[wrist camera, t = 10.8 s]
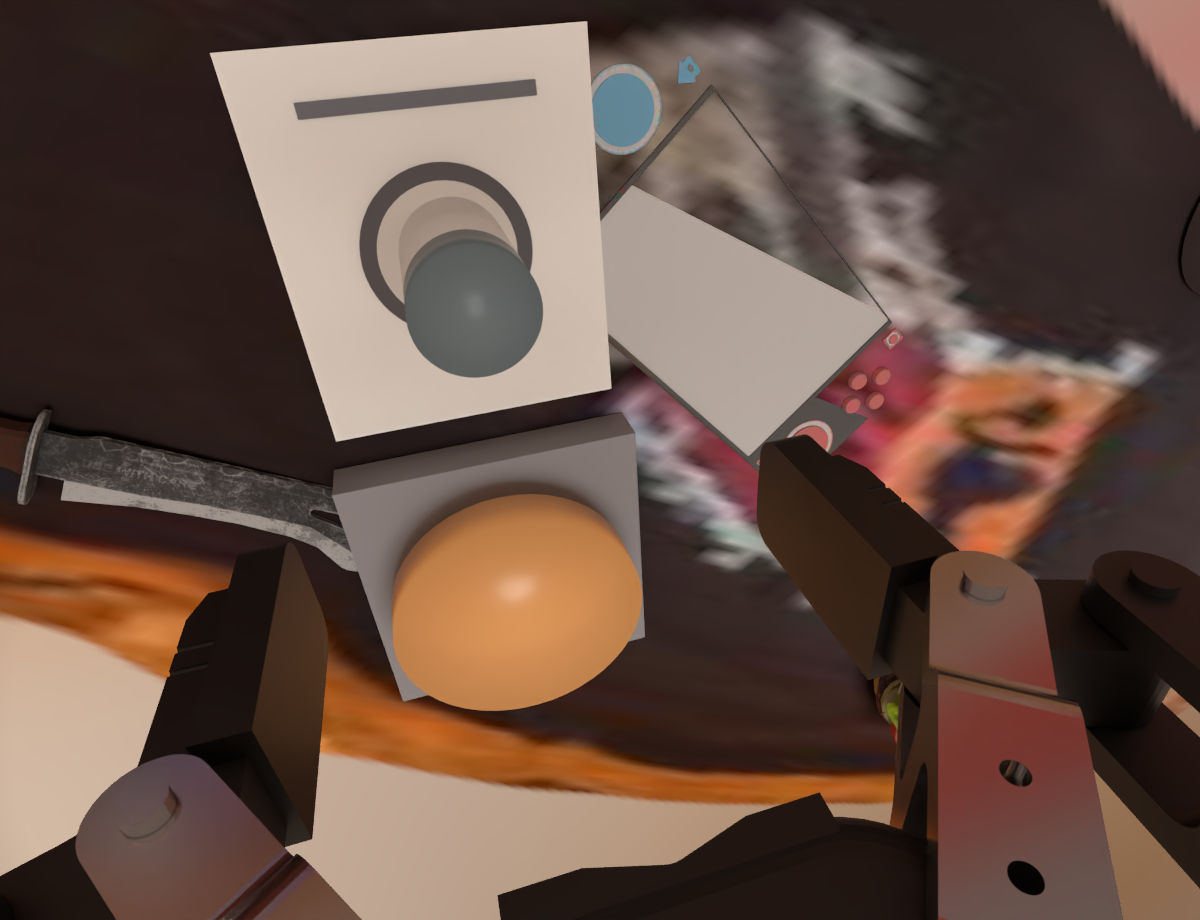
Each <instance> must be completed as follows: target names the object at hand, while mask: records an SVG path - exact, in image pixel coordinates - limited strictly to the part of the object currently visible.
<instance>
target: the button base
mask: <svg viewBox="0 0 1200 920" xmlns="http://www.w3.org/2000/svg"><path fill="white" fill-rule="evenodd" d="M520 494H541V495H551V496H557V497H562V498H566V499H569V500H572V501H575V502H578V503H580V504H582V505H585V506H587V507H589V508H591V509H592V510H594V511H595V512H597V513H598V514H600V515H601V516H602V517H603V518H605V519H606V520H607V521H608V522H609V523H610V524H611V525H612V526H613V528H614V529H615V530H616V532H617V533H618V534H619V536H620V538H621V540H622V542H623V544H624V546H625V548H626V550H627V552H628V554H629V556H630V558H631V560H632V562H633V564H634V566H635V568H636V570H637V573H638V576H639V579H640V582H641V589H642V568H641V547H640V525H639V504H638V483H637V462H636V441H635V432H634V431H633V429H632V428H631V426H630V424H629V423H628V421H627V420H626V418H625V417H624V415H623V414H622V413H617V414H612V415H607V416H602V417H597V418H592V419H587V420H582V421H577V422H572V423H567V424H562V425H557V426H552V427H547V428H542V429H537V430H532V431H527V432H522V433H517V434H512V435H507V436H502V437H497V438H492V439H487V440H482V441H477V442H472V443H467V444H462V445H457V446H452V447H447V448H442V449H437V450H432V451H427V452H422V453H417V454H412V455H407V456H402V457H397V458H392V459H387V460H382V461H377V462H372V463H367V464H362V465H357V466H352V467H347V468H342V469H337V470H334V478H333V490H332V497H333V500H334V503H335V506H336V509H337V511H338V514H339V517H340V520H341V523H342V526H343V529H344V532H345V534H346V537H347V540H348V543H349V546H350V549H351V552H352V555H353V558H354V560H355V563H356V566H357V569H358V572H359V575H360V578H361V581H362V584H363V586H364V589H365V592H366V595H367V598H368V601H369V604H370V607H371V609H372V612H373V615H374V618H375V621H376V624H377V627H378V630H379V633H380V635H381V638H382V641H383V644H384V647H385V650H386V653H387V656H388V658H389V661H390V664H391V667H392V670H393V673H394V676H395V679H396V682H397V684H398V687H399V690H400V693H401V696H402V699H403V701H407V700H411V699H415V698H418V697H422V696H426V695H428V694H426V693H425V692H424V691H422V690H421V689H420V688H418V687H417V686H416V685H415V684H414V683H413V682H412V681H411V680H410V679H409V678H408V677H407V675H406V674H405V672H404V671H403V670H402V668H401V666H400V664H399V662H398V660H397V657H396V654H395V650H394V646H393V627H392V592H393V585H394V582H395V579H396V576H397V573H398V571H399V569H400V567H401V565H402V563H403V561H404V559H405V558H406V556H407V555H408V554H409V552H410V551H411V549H412V548H413V547H414V546H415V545H416V544H417V542H418V541H419V540H420V539H421V538H422V537H423V536H424V535H425V534H426V533H428V532H429V531H430V530H431V529H432V528H433V527H435V526H436V525H437V524H439V523H440V522H442V521H443V520H445V519H446V518H448V517H449V516H451V515H453V514H455V513H457V512H459V511H461V510H463V509H465V508H467V507H470V506H472V505H475V504H477V503H480V502H483V501H487V500H491V499H494V498H498V497H504V496H510V495H520ZM643 637H645V631H644V610H643V589H642V606H641V611H640V616H639V619H638V622H637V625H636V628H635V630H634V632H633V634H632V636H631V638H630V640H629V641H632V640H635V639H639V638H643Z"/></svg>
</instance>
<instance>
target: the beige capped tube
mask: <svg viewBox="0 0 1200 920" xmlns="http://www.w3.org/2000/svg"><path fill="white" fill-rule="evenodd" d="M399 259H400V268H401V277H402V286H403V295H404V305H405V314H406V321H407V327H408V330H409V333H410V336H411V338H412V340H413V342H414V344H415V346H416V347H417V349H418V350H419V351H420V353H421V354H422V355H423V356H424V357H425V358H426V359H427V360H428V361H429V362H430V363H432V364H433V365H435V366H436V367H438V368H440V369H441V370H443V371H445V372H448V373H450V374H453V375H457V376H461V377H469V378H479V377H487V376H491V375H495V374H498V373H501V372H503V371H505V370H507V369H509V368H511V367H513V366H514V365H516V364H517V363H518V362H519V361H521V360H522V359H523V358H524V357H525V356H526V355H527V354H528V352H529V351H530V350H531V348H532V347H533V345H534V344H535V342H536V340H537V338H538V336H539V333H540V330H541V326H542V321H543V303H542V297H541V294H540V291H539V288H538V286H537V284H536V282H535V280H534V278H533V277H532V275H531V273H530V272H529V270H528V269H527V267H526V266H525V264H524V263H523V261H522V259H521V258H520V256H519V255H518V253H517V252H516V250H515V248H514V247H513V245H512V244H511V242H510V241H509V239H508V238H507V236H506V234H505V233H504V231H503V230H502V228H501V227H500V225H499V224H498V222H497V220H496V219H495V218H494V217H493V215H492V214H491V213H490V212H489V211H487V210H486V209H485V208H484V207H482V206H481V205H479V204H477V203H476V202H474V201H471V200H468V199H465V198H461V197H452V196H451V197H441V198H436V199H433V200H430V201H428V202H426V203H424V204H423V205H421V206H420V207H418V208H417V209H416V210H415V211H414V212H413V213H412V214H411V215H410V216H409V218H408V219H407V221H406V222H405V224H404V226H403V229H402V231H401V235H400V239H399Z"/></svg>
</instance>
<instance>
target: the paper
mask: <svg viewBox="0 0 1200 920" xmlns="http://www.w3.org/2000/svg"><path fill="white" fill-rule="evenodd" d="M210 55H211V58H212V61H213V64H214V67H215V71H216V74H217V77H218V80H219V83H220V86H221V89H222V92H223V95H224V98H225V101H226V104H227V107H228V111H229V114H230V117H231V120H232V123H233V126H234V129H235V132H236V135H237V138H238V141H239V144H240V147H241V150H242V154H243V157H244V160H245V163H246V166H247V169H248V172H249V175H250V178H251V181H252V184H253V187H254V190H255V193H256V197H257V200H258V203H259V206H260V209H261V212H262V215H263V218H264V221H265V224H266V227H267V230H268V233H269V237H270V240H271V243H272V246H273V249H274V252H275V255H276V258H277V261H278V264H279V267H280V270H281V273H282V276H283V280H284V283H285V286H286V289H287V292H288V295H289V298H290V301H291V304H292V307H293V310H294V313H295V316H296V319H297V323H298V326H299V329H300V332H301V335H302V338H303V341H304V344H305V347H306V350H307V353H308V356H309V359H310V363H311V366H312V369H313V372H314V375H315V378H316V381H317V384H318V387H319V390H320V393H321V396H322V399H323V402H324V406H325V409H326V412H327V415H328V418H329V421H330V424H331V427H332V430H333V433H334V436H335V439H336V441H342V440H347V439H352V438H357V437H363V436H368V435H373V434H378V433H383V432H389V431H394V430H399V429H404V428H409V427H415V426H420V425H425V424H430V423H435V422H441V421H446V420H451V419H456V418H461V417H467V416H472V415H477V414H482V413H487V412H493V411H498V410H503V409H508V408H513V407H519V406H524V405H529V404H534V403H539V402H545V401H550V400H555V399H560V398H565V397H571V396H576V395H581V394H586V393H591V392H597V391H602V390H607V389H611V375H610V360H609V345H608V330H607V315H606V300H605V285H604V270H603V255H602V240H601V225H600V210H599V195H598V180H597V165H596V150H595V135H594V120H593V105H592V90H591V75H590V60H589V45H588V30H587V21H583V22H571V23H560V24H548V25H536V26H524V27H512V28H500V29H488V30H476V31H465V32H453V33H441V34H429V35H417V36H405V37H393V38H382V39H370V40H358V41H346V42H334V43H322V44H310V45H298V46H287V47H275V48H263V49H251V50H239V51H227V52H215V53H210ZM451 196H452V197H461V198H465V199H468V200H471V201H474V202H476V203H477V204H479V205H481V206H482V207H484V208H485V209H486V210H487V211H489V212H490V213H491V214H492V215H493V217H494V218H495V219H496V220H497V222H498V224H499V225H500V227H501V228H502V230H503V231H504V233H505V234H506V236H507V238H508V239H509V241H510V242H511V244H512V245H513V247H514V248H515V250H516V252H517V253H518V255H519V256H520V258H521V259H522V261H523V263H524V264H525V266H526V267H527V269H528V270H529V272H530V273H531V275H532V277H533V278H534V280H535V282H536V284H537V286H538V288H539V291H540V294H541V297H542V303H543V321H542V326H541V330H540V333H539V336H538V338H537V340H536V342H535V344H534V345H533V347H532V348H531V350H530V351H529V352H528V354H527V355H526V356H525V357H524V358H523V359H522V360H521V361H519V362H518V363H517V364H516V365H514V366H513V367H511V368H509V369H507V370H505V371H503V372H501V373H498V374H495V375H491V376H487V377H479V378H469V377H461V376H457V375H453V374H450V373H448V372H445V371H443V370H441V369H440V368H438V367H436V366H435V365H433V364H432V363H430V362H429V361H428V360H427V359H426V358H425V357H424V356H423V355H422V354H421V353H420V351H419V350H418V349H417V347H416V346H415V344H414V342H413V340H412V338H411V336H410V333H409V330H408V327H407V321H406V314H405V305H404V295H403V286H402V277H401V268H400V259H399V239H400V235H401V231H402V229H403V226H404V224H405V222H406V221H407V219H408V218H409V216H410V215H411V214H412V213H413V212H414V211H415V210H416V209H417V208H418V207H420V206H421V205H423V204H424V203H426V202H428V201H430V200H433V199H436V198H441V197H451Z"/></svg>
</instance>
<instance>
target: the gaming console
mask: <svg viewBox="0 0 1200 920" xmlns="http://www.w3.org/2000/svg"><path fill="white" fill-rule="evenodd" d="M689 64H691V66H692V67H693V71H692V72H690V71H689V69H688V68H687V66H688V65H689ZM700 71H701V70H700V69H699V67H698V66H697V65H696V63H695V62H694V61H693V59H692V58H691V57H690V56H688V57H687V58H686V59H685V60H684V61H683V62H681V61H680V60H679V72H678V83H691V82H696V80H695V77H696V76H697V75H698V74H699V73H700ZM591 90H592V105H593V120H594V135H595V143H596V144H597V145H598V146H599V147H600V148H601V149H603V150H605V151H607V152H609V153H612V154H616V155H627V154H630V153H634V152H636V151H638V150H639V149H641V148H643V147H644V146H645V145H646V144H647V143H648V142H649V141H650V140H651V138H652V137H653V136H654V134H655V132H656V130H657V128H658V126H659V123H660V118H661V111H662V103H661V96H660V93H659V90H658V87H657V85H656V83H655V82H654V80H653V78H652V77H651V76H650V75H649V74H648V73H647V72H646V71H645V70H643V69H642V68H640V67H638V66H636V65H632V64H616V65H612V66H610V67H608V68H606V69H605V70H603V71H602V72H601V73H600V74H599V75H597V76H596V78H595V79H594V80H593V82H592V83H591ZM714 91H715V92H716V93H717V94H718V96H719V97H720V98H721V100H722V101H723V102H724V104H725V105H726V106H727V108H728V109H729V110H730V111H731V113H732V114H733V115H734V117H735V118H736V119H737V121H738V122H739V123H740V125H741V126H742V127H743V129H744V130H745V131H746V133H747V134H748V135H749V137H750V138H751V139H752V141H753V142H754V143H755V144H756V146H757V147H758V148H759V150H760V151H761V152H762V154H763V155H764V156H765V158H766V159H767V160H768V162H769V163H770V164H771V166H772V167H773V168H774V170H775V171H776V172H777V173H778V175H779V176H780V177H781V179H782V180H783V181H784V183H785V184H786V185H787V187H788V188H789V189H790V191H791V192H792V193H793V195H794V196H795V197H796V199H797V200H798V201H799V202H800V204H801V205H802V206H803V208H804V209H805V210H806V212H807V213H808V214H809V216H810V217H811V218H812V220H813V221H814V222H815V224H816V225H817V226H818V228H819V229H820V230H821V231H822V233H823V234H824V235H825V237H826V238H827V239H828V241H829V242H830V243H831V245H832V246H833V247H834V249H835V250H836V251H837V253H838V254H839V255H840V257H841V258H842V259H843V260H844V258H843V257H842V256H841V254H840V253H839V252H838V250H837V249H836V248H835V246H834V245H833V244H832V242H831V241H830V240H829V238H828V237H827V236H826V234H825V233H824V232H823V230H822V229H821V228H820V227H819V225H818V224H817V223H816V221H815V220H814V219H813V217H812V216H811V215H810V213H809V212H808V211H807V209H806V208H805V207H804V205H803V204H802V203H801V201H800V200H799V199H798V197H797V196H796V195H795V193H794V192H793V191H792V190H791V188H790V187H789V186H788V184H787V183H786V182H785V180H784V179H783V178H782V176H781V175H780V174H779V172H778V171H777V170H776V168H775V167H774V166H773V164H772V163H771V162H770V160H769V159H768V158H767V157H766V155H765V154H764V153H763V151H762V150H761V149H760V147H759V146H758V145H757V143H756V142H755V141H754V139H753V138H752V137H751V135H750V134H749V133H748V131H747V130H746V129H745V127H744V126H743V125H742V123H741V122H740V121H739V120H738V118H737V117H736V116H735V114H734V113H733V112H732V110H731V109H730V108H729V106H728V105H727V104H726V102H725V101H724V100H723V98H722V97H721V96H720V94H719V93H718V92H717V90H716V89H715V88H714V86H712V85H711V86H710V87H709V88H708V89H707V90H706V91H705V93H704V94H703V95H702V96H701V97H700V98H699V100H698V101H697V102H696V103H695V104H694V105H693V106H692V108H691V109H690V110H689V111H688V112H687V113H686V114H685V116H684V117H683V118H682V119H681V120H680V121H679V123H678V124H677V125H676V126H675V127H674V128H673V129H672V131H671V132H670V133H669V134H668V135H667V136H666V138H665V139H664V140H663V141H662V142H661V143H660V144H659V146H658V147H657V148H656V149H655V150H654V151H653V152H652V154H651V155H650V156H649V157H648V158H647V159H646V161H645V162H644V163H643V164H642V165H641V166H640V167H639V169H638V170H637V171H636V172H635V173H634V174H633V176H632V177H631V178H630V179H629V180H628V181H627V182H626V184H625V185H624V186H623V187H622V188H621V189H620V190H619V192H618V193H617V194H616V195H615V196H614V197H613V199H612V200H611V201H610V202H609V203H608V204H607V205H606V207H605V208H604V209H603V210H602V211H601V212H600V225H601V240H602V255H603V270H604V285H605V300H606V315H607V330H608V342H610V343H611V344H612V345H613V346H614V347H615V348H616V349H618V350H619V351H620V352H621V353H622V354H623V355H625V356H626V357H627V358H628V359H629V360H630V361H631V362H633V363H634V364H635V365H636V366H637V367H638V368H639V369H641V370H642V371H643V372H644V373H645V374H646V375H648V376H649V377H650V378H651V379H652V380H653V381H654V382H656V383H657V384H658V385H659V386H660V387H661V388H663V389H664V390H665V391H666V392H667V393H668V394H669V395H671V396H672V397H673V398H674V399H675V400H676V401H677V402H679V403H680V404H681V405H682V406H683V407H684V408H686V409H687V410H688V411H689V412H690V413H691V414H692V415H694V416H695V417H696V418H697V419H698V420H699V421H701V422H702V423H703V424H704V425H705V426H706V427H707V428H709V429H710V430H711V431H712V432H713V433H714V434H715V435H717V436H718V437H719V438H720V439H721V440H722V441H724V442H725V443H726V444H727V445H728V446H729V447H730V448H732V449H733V450H734V451H735V452H736V453H737V454H739V455H740V456H741V457H742V458H743V459H744V460H745V461H747V462H748V463H749V464H750V465H751V466H752V467H753V468H755V469H756V470H757V471H758V472H759V465H760V452H761V448H762V446H763V444H764V443H766V442H770V441H774V440H779V439H784V438H788V437H793V436H798V435H802V434H807V435H809V436H810V437H812V438H813V439H814V440H815V441H816V442H817V443H818V444H819V445H820V446H821V447H822V448H823V449H824V450H826V451H827V452H828V453H829V454H831V453H832V452H833V451H834V450H835V449H836V448H837V447H838V446H839V445H840V444H841V443H843V442H844V441H845V440H846V439H847V438H848V437H849V436H850V435H851V434H852V433H853V432H854V431H855V430H856V429H857V428H858V427H859V426H861V425H862V424H863V423H864V422H865V421H866V420H867V419H868V418H866V417H863V416H861V415H859V414H856V413H854V412H856V411H857V410H858V409H859V407H860V401H859V399H858V398H857V397H856V396H849V397H847V398H846V399H845V400H844V401H843V403H842V408H841V407H838V406H836V405H834V404H831V403H829V402H826V401H824V400H821V399H819V398H816V396H817V395H818V394H819V393H820V392H821V391H822V390H823V389H824V388H825V387H826V386H828V385H829V384H830V383H831V382H832V381H833V380H834V379H835V378H836V377H837V376H838V375H839V374H840V373H841V372H842V371H843V370H844V369H845V368H846V367H847V366H848V365H849V364H850V363H851V362H852V361H853V360H854V359H855V358H856V357H857V356H858V355H859V354H860V353H861V352H862V351H863V350H864V349H865V348H866V347H868V346H869V345H870V344H871V343H872V342H873V341H874V340H875V339H876V338H877V337H878V336H879V335H880V334H881V333H882V332H883V331H884V330H885V329H886V328H887V327H888V326H889V325H890V324H891V323H892V322H891V320H890V319H889V318H888V316H887V315H886V314H885V312H884V311H883V310H882V308H881V307H880V306H879V304H878V303H877V302H876V300H875V299H874V298H873V297H872V295H871V294H870V293H869V291H868V290H867V289H866V287H865V286H864V285H863V283H862V282H861V281H860V279H859V278H858V277H857V275H856V274H855V273H854V271H853V270H852V269H851V267H850V266H849V265H848V264H847V262H846V261H845V260H844V262H845V263H846V264H847V266H848V267H849V268H850V270H851V271H852V272H853V274H854V275H855V276H856V278H857V279H858V280H859V282H860V283H861V284H862V286H863V287H864V288H865V289H866V291H867V292H868V293H869V295H870V296H871V297H872V299H873V300H874V301H875V303H876V304H877V305H878V307H879V308H880V309H881V311H882V312H883V313H882V312H880V311H878V310H876V309H874V308H872V307H870V306H868V305H866V304H864V303H862V302H860V301H858V300H856V299H854V298H852V297H850V296H849V295H846V294H845V293H843V292H841V291H839V290H837V289H835V288H833V287H831V286H829V285H827V284H825V283H823V282H821V281H819V280H817V279H815V278H813V277H811V276H809V275H807V274H805V273H803V272H801V271H799V270H797V269H795V268H794V267H791V266H790V265H787V264H785V263H784V262H782V261H780V260H778V259H776V258H774V257H772V256H770V255H768V254H766V253H764V252H762V251H760V250H758V249H756V248H754V247H752V246H750V245H748V244H746V243H744V242H742V241H740V240H738V239H736V238H735V237H732V236H731V235H729V234H727V233H725V232H723V231H721V230H719V229H717V228H715V227H713V226H711V225H709V224H707V223H705V222H703V221H701V220H699V219H697V218H695V217H693V216H691V215H689V214H687V213H685V212H683V211H681V210H679V209H677V208H675V207H673V206H672V205H670V204H668V203H666V202H664V201H662V200H660V199H658V198H656V197H654V196H652V195H650V194H648V193H646V192H644V191H642V190H640V189H638V188H636V187H634V186H632V185H633V183H634V182H635V181H636V180H637V179H638V178H639V177H640V175H641V174H642V173H643V172H644V171H645V170H646V169H647V167H648V166H649V165H650V164H651V163H652V162H653V160H654V159H655V158H656V157H657V156H658V155H659V154H660V152H661V151H662V150H663V149H664V148H665V147H666V146H667V144H668V143H669V142H670V141H671V140H672V139H673V138H674V136H675V135H676V134H677V133H678V132H679V131H680V129H681V128H682V127H683V126H684V125H685V124H686V123H687V121H688V120H689V119H690V118H691V117H692V116H693V115H694V113H695V112H696V111H697V110H698V109H699V108H700V106H701V105H702V104H703V103H704V102H705V101H706V100H707V98H708V97H709V96H710V95H711V94H712V93H713V92H714ZM902 339H903V336H902V335H901V334H900V333H899V331H898V330H897V329H896V328H895V329H894V330H893V331H891V332H890V333H889V334H888V335H887V336H886V337H885V338H884V339H883V340H882V341H883V342H884V343H885V345H886V346H887V347H888V349H889V350H891V349H892V348H893V347H894V346H895V345H896V344H898V343H899V342H900V341H901V340H902ZM890 376H891V374H890V371H889V370H888V369H887V368H885V367H880V368H878V369H876V370H875V371H874V373H873V374H872V381H873V382H874V383H875V384H878V385H883V384H885V383H886V382H887V381H888V380H889V379H890ZM866 382H867V377H866V375H865V374H864V373H863V372H861V371H857V372H854V373H853V374H852V375H851V376H850V377H849V379H848V385H849V387H851V388H853V389H855V390H858V389H861V388H862V387H863V386H864V385H865V384H866ZM883 401H884V397H883V395H882V394H881V393H880V392H878V391H874V392H872V393H870V394H869V395H868V396H867V398H866V400H865V405H866V406H867V407H869V408H871V409H877V408H879V407H880V406H881V405H882V403H883Z"/></svg>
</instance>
